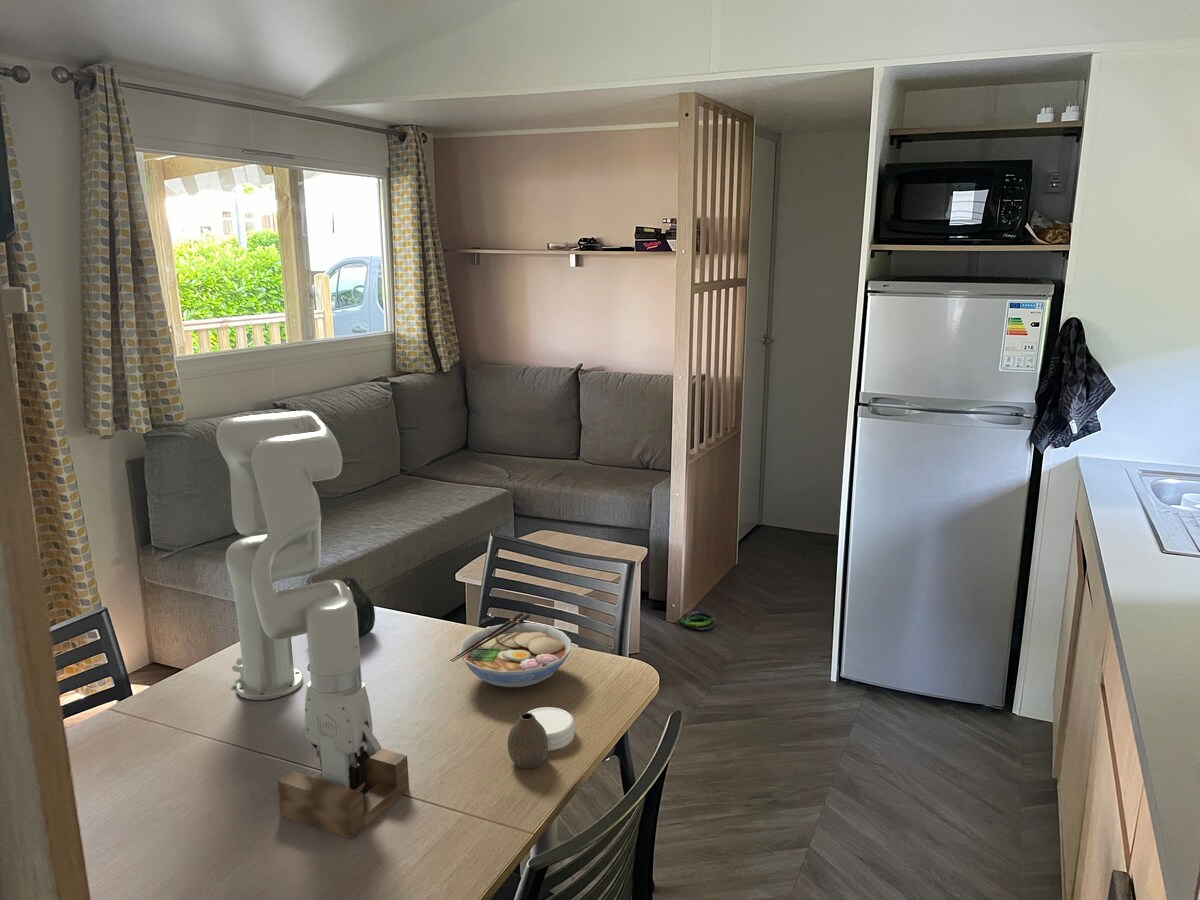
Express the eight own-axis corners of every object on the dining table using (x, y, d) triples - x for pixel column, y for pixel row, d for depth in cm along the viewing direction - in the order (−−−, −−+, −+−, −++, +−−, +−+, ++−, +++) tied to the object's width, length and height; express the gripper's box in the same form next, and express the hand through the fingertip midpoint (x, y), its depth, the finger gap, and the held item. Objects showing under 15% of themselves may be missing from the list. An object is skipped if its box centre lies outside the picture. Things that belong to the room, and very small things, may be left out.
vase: (554, 755, 155) (553, 709, 153) (539, 777, 149) (538, 729, 147) (518, 748, 157) (516, 703, 155) (501, 769, 151) (499, 722, 149)
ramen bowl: (525, 721, 166) (523, 681, 164) (432, 690, 178) (430, 652, 176) (596, 668, 187) (596, 631, 185) (509, 643, 198) (508, 609, 197)
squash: (283, 622, 197) (317, 579, 192) (325, 599, 211) (359, 559, 206) (325, 669, 196) (361, 627, 190) (365, 643, 209) (400, 604, 204)
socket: (281, 815, 139) (277, 781, 138) (341, 768, 152) (339, 736, 150) (352, 839, 133) (349, 803, 132) (409, 788, 146) (407, 755, 144)
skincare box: (348, 807, 139) (343, 738, 136) (323, 804, 140) (317, 735, 137) (366, 785, 145) (361, 718, 142) (342, 782, 146) (336, 715, 143)
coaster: (579, 725, 165) (579, 708, 164) (568, 755, 155) (567, 737, 155) (526, 721, 167) (526, 703, 166) (512, 750, 157) (512, 732, 156)
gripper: (276, 675, 138) (286, 780, 142) (364, 698, 131) (372, 808, 135) (310, 655, 144) (319, 756, 149) (396, 676, 137) (402, 781, 142)
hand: (344, 779), depth 142 cm, fingers closed on skincare box, 5 cm apart
